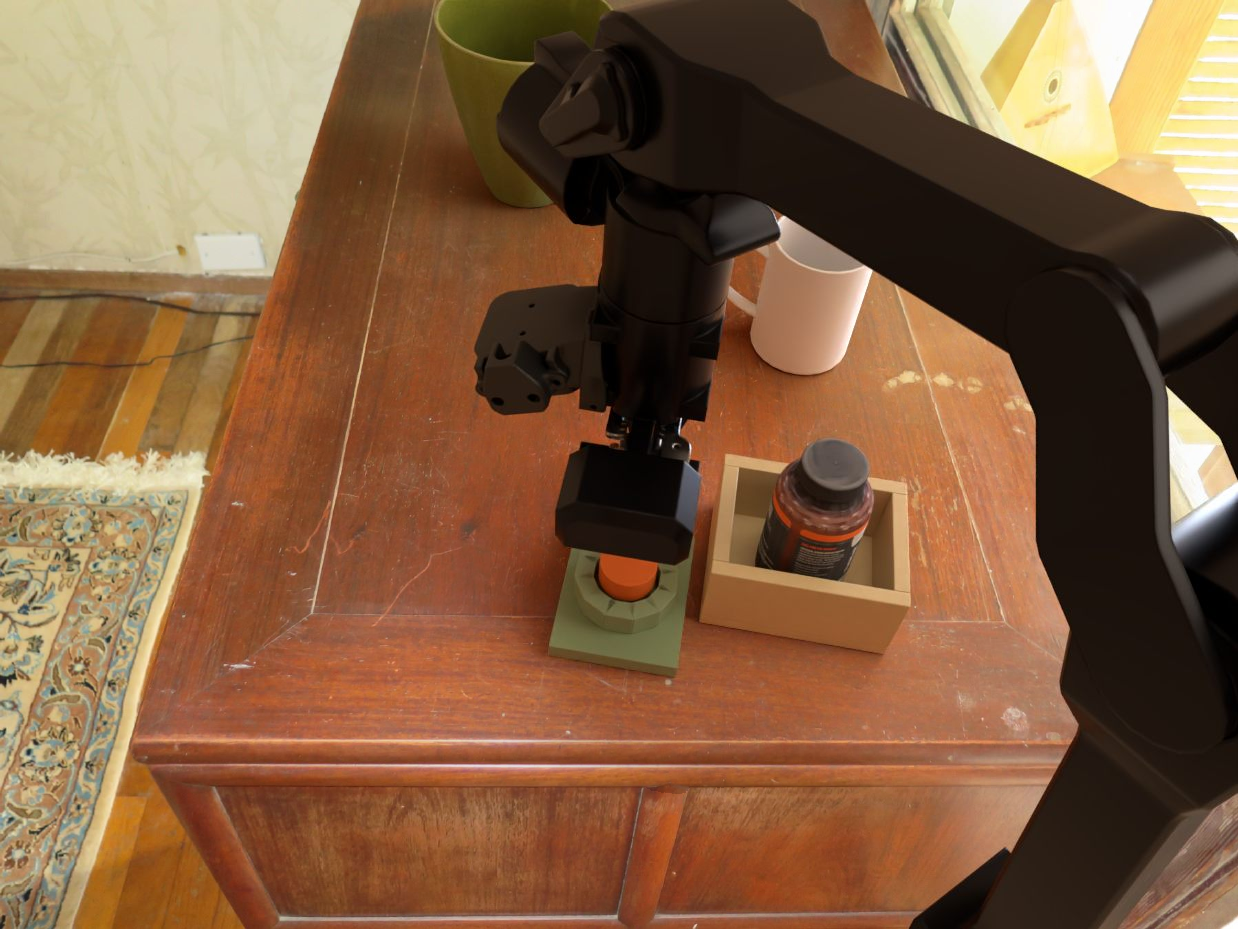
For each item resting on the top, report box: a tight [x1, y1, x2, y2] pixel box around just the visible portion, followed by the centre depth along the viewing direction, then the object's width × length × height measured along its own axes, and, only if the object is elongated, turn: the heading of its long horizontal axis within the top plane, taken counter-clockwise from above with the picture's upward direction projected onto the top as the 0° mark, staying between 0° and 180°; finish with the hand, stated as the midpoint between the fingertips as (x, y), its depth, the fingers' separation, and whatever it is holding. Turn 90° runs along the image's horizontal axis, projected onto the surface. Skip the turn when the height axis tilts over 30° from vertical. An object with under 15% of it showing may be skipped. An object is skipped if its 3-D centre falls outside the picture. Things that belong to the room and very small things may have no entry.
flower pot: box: [433, 0, 614, 209], centre depth 86 cm, size 15×15×16 cm
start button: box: [598, 553, 658, 601], centre depth 62 cm, size 4×4×2 cm
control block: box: [547, 536, 696, 678], centre depth 63 cm, size 10×8×3 cm
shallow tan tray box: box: [698, 453, 912, 655], centre depth 64 cm, size 10×12×6 cm
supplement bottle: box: [755, 437, 874, 582], centre depth 61 cm, size 6×6×11 cm
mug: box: [727, 215, 874, 376], centre depth 77 cm, size 12×8×10 cm, turn 82°
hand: (637, 495), depth 56 cm, fingers open, 4 cm apart
